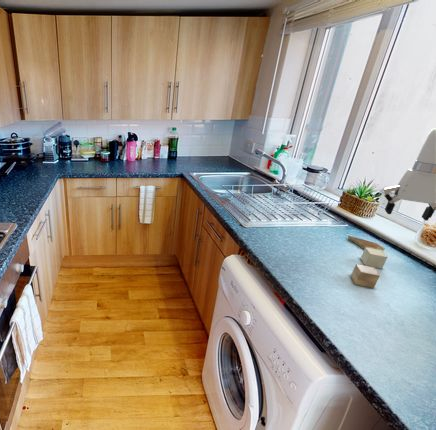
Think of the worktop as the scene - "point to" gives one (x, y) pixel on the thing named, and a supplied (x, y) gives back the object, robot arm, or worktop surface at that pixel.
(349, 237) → the shard
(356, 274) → the maple block
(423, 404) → the worktop surface
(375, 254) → the cream block
